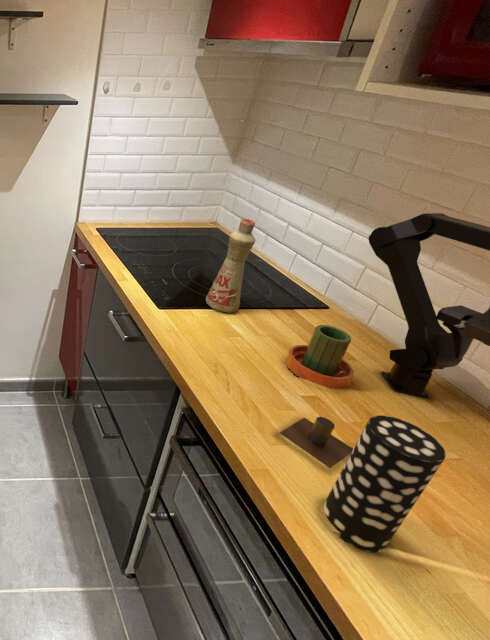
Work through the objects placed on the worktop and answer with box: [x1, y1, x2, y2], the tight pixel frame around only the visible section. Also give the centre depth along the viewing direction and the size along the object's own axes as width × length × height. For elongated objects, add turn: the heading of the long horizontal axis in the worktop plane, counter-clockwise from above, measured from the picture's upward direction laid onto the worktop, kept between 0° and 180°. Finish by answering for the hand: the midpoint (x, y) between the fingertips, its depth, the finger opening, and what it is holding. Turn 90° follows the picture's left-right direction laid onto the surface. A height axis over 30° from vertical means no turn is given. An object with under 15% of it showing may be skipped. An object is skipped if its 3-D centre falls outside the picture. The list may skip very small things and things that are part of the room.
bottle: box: [205, 218, 257, 314], centre depth 127 cm, size 9×9×28 cm
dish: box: [285, 344, 355, 389], centre depth 106 cm, size 12×12×4 cm
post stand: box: [279, 416, 354, 469], centre depth 86 cm, size 9×9×6 cm
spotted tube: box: [323, 415, 447, 553], centre depth 69 cm, size 8×8×20 cm
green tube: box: [300, 324, 352, 377], centre depth 104 cm, size 6×6×11 cm
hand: (487, 372), depth 88 cm, fingers open, 9 cm apart
